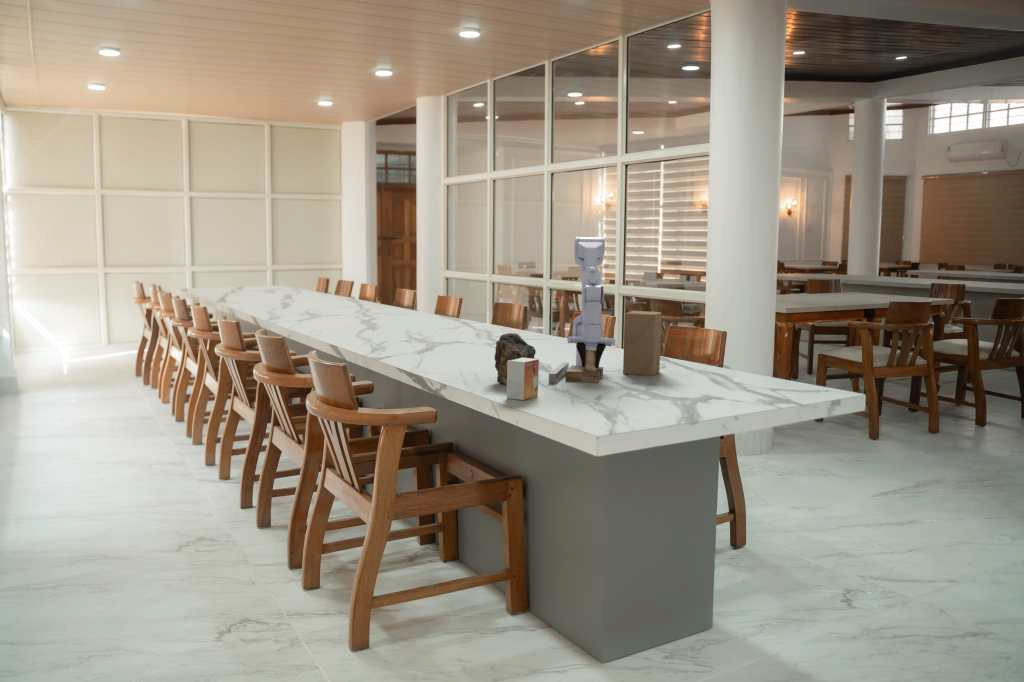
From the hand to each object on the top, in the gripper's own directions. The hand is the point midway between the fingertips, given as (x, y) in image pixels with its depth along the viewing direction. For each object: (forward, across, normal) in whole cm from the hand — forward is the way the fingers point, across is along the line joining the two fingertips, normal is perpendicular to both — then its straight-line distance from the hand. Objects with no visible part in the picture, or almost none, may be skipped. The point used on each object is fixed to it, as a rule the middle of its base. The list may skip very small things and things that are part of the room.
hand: (590, 367), depth 266 cm
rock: (+4, -21, -14) cm, 25 cm away
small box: (+4, -14, -36) cm, 39 cm away
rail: (+4, -10, 0) cm, 11 cm away
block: (+4, -2, 0) cm, 4 cm away
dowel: (+4, 0, 0) cm, 4 cm away
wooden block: (+4, +14, +18) cm, 23 cm away
